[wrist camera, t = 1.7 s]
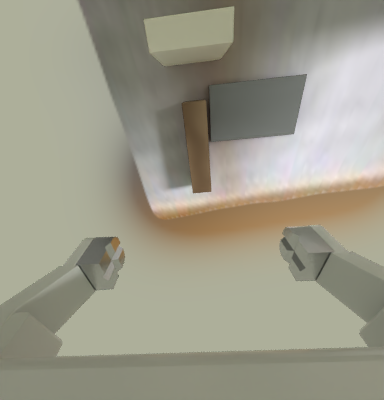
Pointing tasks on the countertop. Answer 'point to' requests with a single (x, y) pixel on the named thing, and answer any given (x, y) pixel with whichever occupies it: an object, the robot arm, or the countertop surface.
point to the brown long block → (197, 144)
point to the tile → (190, 36)
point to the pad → (255, 108)
